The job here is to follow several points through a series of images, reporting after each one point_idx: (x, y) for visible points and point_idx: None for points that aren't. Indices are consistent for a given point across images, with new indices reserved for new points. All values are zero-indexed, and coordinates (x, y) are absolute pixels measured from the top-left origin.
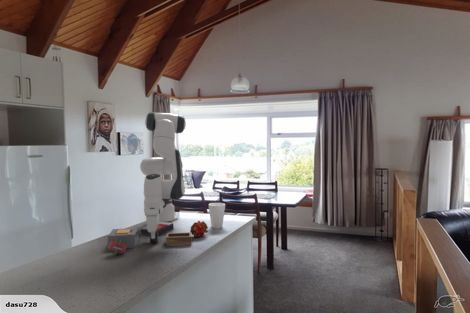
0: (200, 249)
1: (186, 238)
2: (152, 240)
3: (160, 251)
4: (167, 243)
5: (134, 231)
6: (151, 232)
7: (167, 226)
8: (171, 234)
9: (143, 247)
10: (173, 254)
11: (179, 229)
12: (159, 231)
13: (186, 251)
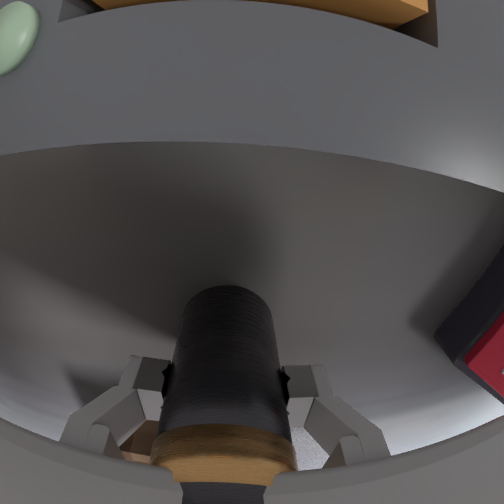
0: None
1: None
2: (177, 339)
3: (22, 349)
4: None
5: (236, 82)
6: (81, 418)
7: (496, 396)
8: None
9: (84, 229)
10: (7, 390)
11: (473, 410)
12: (457, 366)
13: (59, 438)
